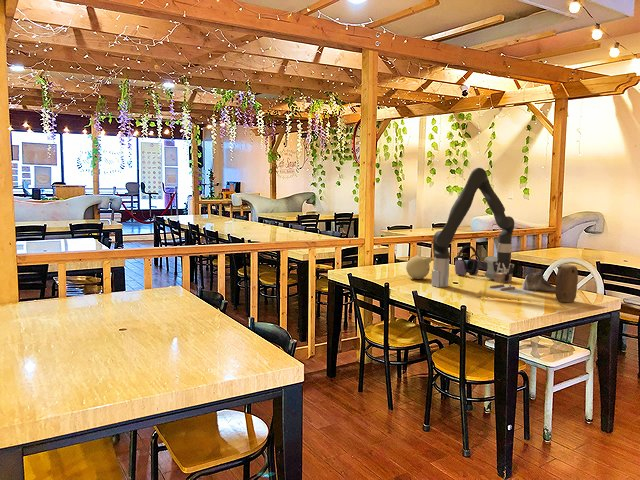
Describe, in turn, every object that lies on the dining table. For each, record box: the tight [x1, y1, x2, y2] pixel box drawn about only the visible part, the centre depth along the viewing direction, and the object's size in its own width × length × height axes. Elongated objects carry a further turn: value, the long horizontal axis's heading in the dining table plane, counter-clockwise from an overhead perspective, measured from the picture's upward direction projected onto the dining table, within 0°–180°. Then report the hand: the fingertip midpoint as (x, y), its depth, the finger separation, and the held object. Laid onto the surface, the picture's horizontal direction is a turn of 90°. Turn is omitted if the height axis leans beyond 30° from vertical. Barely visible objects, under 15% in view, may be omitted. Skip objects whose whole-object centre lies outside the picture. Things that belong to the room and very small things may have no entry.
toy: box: [405, 253, 433, 280], centre depth 336 cm, size 17×15×15 cm
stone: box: [554, 263, 579, 303], centre depth 276 cm, size 12×7×20 cm, turn 122°
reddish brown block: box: [493, 272, 513, 284], centre depth 302 cm, size 9×5×5 cm, turn 121°
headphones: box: [454, 245, 481, 277], centre depth 353 cm, size 9×17×20 cm, turn 120°
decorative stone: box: [483, 255, 510, 281], centre depth 334 cm, size 12×17×15 cm
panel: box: [486, 283, 537, 296], centre depth 298 cm, size 16×22×4 cm
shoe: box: [521, 271, 556, 294], centre depth 297 cm, size 25×11×12 cm, turn 55°
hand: (502, 280), depth 302 cm, fingers closed on reddish brown block, 5 cm apart
